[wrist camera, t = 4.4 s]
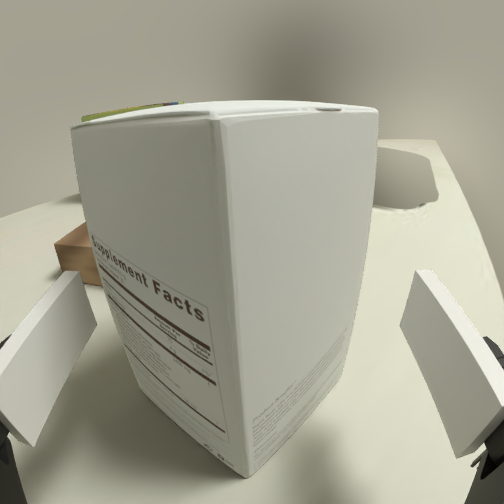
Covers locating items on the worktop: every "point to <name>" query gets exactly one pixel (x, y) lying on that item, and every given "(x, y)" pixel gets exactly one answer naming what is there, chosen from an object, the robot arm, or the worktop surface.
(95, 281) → the pedestal
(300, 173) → the supplement box
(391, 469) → the worktop surface
